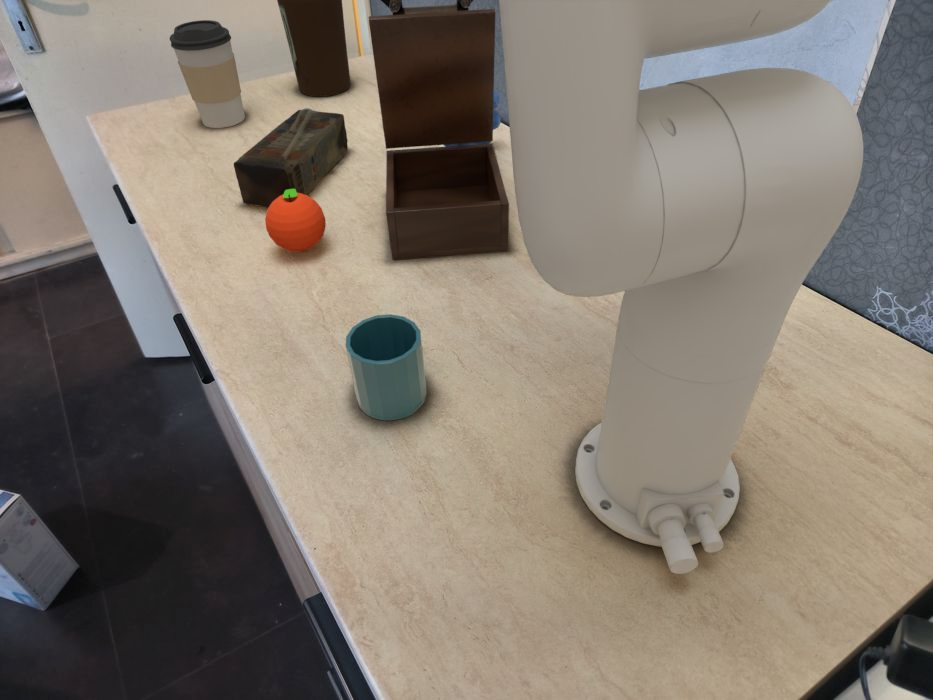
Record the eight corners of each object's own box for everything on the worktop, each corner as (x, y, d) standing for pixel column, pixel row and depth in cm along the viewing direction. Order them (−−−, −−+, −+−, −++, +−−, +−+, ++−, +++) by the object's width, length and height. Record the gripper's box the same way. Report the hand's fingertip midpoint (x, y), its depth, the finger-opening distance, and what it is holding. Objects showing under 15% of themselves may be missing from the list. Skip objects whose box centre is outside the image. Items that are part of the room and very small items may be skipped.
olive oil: (355, 75, 123) (333, -82, 106) (353, 96, 115) (328, -69, 99) (299, 78, 123) (267, -78, 106) (292, 100, 115) (257, -66, 98)
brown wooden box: (508, 251, 77) (509, 203, 73) (392, 260, 77) (386, 212, 72) (492, 187, 89) (492, 142, 85) (391, 195, 88) (386, 150, 84)
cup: (428, 417, 58) (422, 360, 53) (356, 423, 58) (343, 366, 53) (425, 368, 63) (419, 311, 58) (358, 373, 63) (347, 317, 58)
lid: (495, 12, 71) (489, -13, 74) (368, 19, 70) (368, -6, 73) (492, 141, 84) (487, 116, 87) (386, 149, 84) (385, 123, 87)
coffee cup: (201, 111, 113) (172, 17, 102) (254, 107, 113) (231, 13, 103) (191, 132, 106) (158, 34, 96) (247, 128, 106) (221, 30, 96)
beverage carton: (352, 150, 99) (345, 107, 94) (295, 214, 85) (284, 168, 81) (304, 146, 101) (295, 103, 96) (241, 208, 87) (227, 162, 83)
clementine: (273, 232, 82) (259, 180, 78) (328, 224, 83) (318, 173, 78) (272, 267, 76) (257, 213, 72) (331, 258, 77) (320, 205, 73)
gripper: (332, -136, 63) (359, 58, 75) (509, -145, 64) (508, 49, 76) (337, -143, 69) (361, 39, 80) (499, -152, 69) (500, 30, 81)
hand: (432, 42), depth 78 cm, fingers closed on lid, 6 cm apart
